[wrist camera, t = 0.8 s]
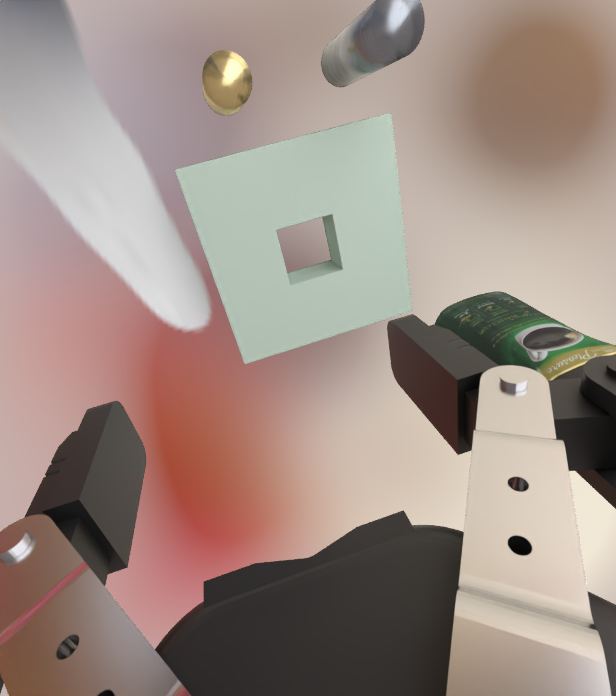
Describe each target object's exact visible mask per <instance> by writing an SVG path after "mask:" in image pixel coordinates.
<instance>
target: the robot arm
mask: <svg viewBox="0 0 616 696" xmlns="http://www.w3.org/2000/svg"><path fill="white" fill-rule="evenodd" d="M387 330H388V339H389V349H390V357H391V367H392V371H393V374H394V377H395V379H396V381H397V382H398V384H399V385H400V387H401V388H402V389H403V390H404V391H405V392H406V394H407V395H408V396H409V397H410V398H411V400H412V401H413V402H414V403H415V404H416V405H417V407H418V408H419V409H420V410H421V411H422V413H423V414H424V415H425V416H426V417H427V419H428V420H429V421H430V422H431V423H432V424H433V426H434V427H435V428H436V429H437V430H438V431H439V433H440V434H441V435H442V436H443V437H444V439H445V440H446V441H447V442H448V443H449V445H450V446H451V447H452V448H453V449H454V451H455V452H456V453H457V454H458V455H459V454H462V453H465V452H468V451H471V450H472V454H471V464H470V474H469V485H468V495H467V505H466V515H465V525H464V532H462V531H459V530H455V529H451V528H447V527H441V526H434V525H413V526H412V525H411V523H410V521H409V519H408V517H407V516H406V514H405V512H404V511H401V512H398V513H396V514H392V515H390V516H387V517H384V518H381V519H378V520H375V521H373V522H370V523H367V524H364V525H361V526H359V527H356V528H355V529H353V530H352V531H350V532H349V533H347V534H346V535H344V536H343V537H341V538H340V539H338V540H337V541H335V542H334V543H332V544H331V545H329V546H327V547H326V548H324V549H323V550H322V551H320V552H318V553H317V554H315V555H314V556H312V557H309V558H304V559H294V560H285V561H274V562H264V563H255V564H252V565H250V566H247V567H244V568H241V569H238V570H236V571H232V572H230V573H227V574H224V575H221V576H218V577H216V578H213V579H210V580H207V581H204V601H203V602H202V603H200V604H199V605H198V606H196V607H195V608H194V609H192V610H191V611H190V612H189V613H187V614H186V615H185V616H184V617H183V618H182V619H181V620H180V621H179V622H178V623H177V624H176V625H175V626H174V627H173V628H172V629H171V630H170V631H169V632H168V634H167V635H166V636H165V637H164V638H163V639H162V641H161V642H160V643H159V645H158V646H157V648H156V649H154V648H153V647H152V646H151V644H150V643H149V642H148V641H147V639H146V638H145V637H144V636H143V634H142V633H141V632H140V630H139V629H138V628H137V627H136V625H135V624H134V623H133V622H132V620H131V619H130V618H129V617H128V615H127V614H126V613H125V612H124V610H123V609H122V608H121V607H120V605H119V604H118V603H117V601H116V600H115V599H114V598H113V596H112V595H111V594H110V593H109V592H108V590H107V589H106V588H105V584H106V579H107V575H108V574H110V573H113V572H115V571H119V570H121V569H124V568H127V567H128V561H129V555H130V550H131V545H132V539H133V533H134V528H135V522H136V517H137V510H138V505H139V500H140V494H141V489H142V483H143V477H144V472H145V466H146V453H145V449H144V446H143V443H142V441H141V439H140V437H139V435H138V433H137V432H136V430H135V428H134V426H133V424H132V422H131V420H130V419H129V417H128V415H127V413H126V411H125V409H124V407H123V406H122V405H121V403H120V402H118V401H114V402H110V403H107V404H103V405H100V406H97V407H93V408H90V409H88V410H87V411H86V413H85V415H84V418H83V420H82V422H81V424H80V427H79V429H78V431H75V432H72V433H71V434H70V435H69V436H68V437H67V438H66V440H65V441H64V442H63V443H62V444H61V445H60V446H59V447H58V449H57V451H56V453H55V455H54V457H53V459H52V461H51V463H52V464H51V465H50V466H49V468H48V470H47V472H46V474H45V475H46V477H44V478H43V480H42V483H41V484H40V486H39V488H38V490H37V493H36V494H35V497H34V499H33V501H32V503H31V505H30V507H29V509H28V511H27V513H26V515H25V517H24V518H23V519H20V520H19V521H16V522H14V523H13V524H11V525H9V526H8V527H6V528H5V529H3V530H2V531H1V532H0V693H1V690H2V687H3V684H5V687H6V689H7V692H8V694H9V696H616V605H615V604H613V603H611V602H609V601H607V600H604V599H603V598H600V597H598V596H596V595H594V594H592V593H590V592H588V591H587V584H586V578H585V572H584V566H583V559H582V553H581V547H580V540H579V534H578V528H577V521H576V515H575V508H574V501H573V495H572V489H571V483H570V476H569V471H576V472H577V473H578V474H579V475H580V476H581V477H582V478H584V479H585V480H586V481H587V482H588V483H589V484H590V485H591V486H592V487H593V488H594V489H595V490H596V491H597V492H599V494H601V495H602V496H603V497H604V498H605V499H606V500H607V501H608V502H609V503H610V504H611V505H612V506H613V507H614V508H616V355H606V356H599V357H595V358H592V359H590V360H588V361H587V362H586V363H585V365H584V368H583V374H582V378H572V379H561V380H549V381H547V379H546V378H545V377H544V376H543V375H542V374H540V373H539V372H537V371H535V370H532V369H530V368H526V367H522V366H514V365H505V366H499V365H498V364H496V363H495V362H494V361H492V360H491V359H490V358H488V357H487V356H485V355H484V354H483V353H481V352H480V351H478V350H477V349H476V348H474V347H473V346H470V344H469V343H467V342H466V341H465V340H463V339H461V338H460V337H459V336H458V335H456V334H455V333H454V332H452V331H451V330H449V329H446V328H443V327H440V326H436V325H431V326H428V325H427V324H425V323H424V322H423V321H421V320H420V319H419V318H418V317H416V316H415V315H413V314H412V315H408V316H405V317H402V318H398V319H395V320H391V321H389V322H388V326H387Z"/></svg>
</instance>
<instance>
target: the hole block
mask: <svg viewBox="0 0 616 696" xmlns="http://www.w3.org/2000/svg"><path fill="white" fill-rule="evenodd" d="M175 172H176V175H177V177H178V181H179V183H180V186H181V189H182V191H183V194H184V197H185V200H186V203H187V206H188V208H189V211H190V214H191V217H192V219H193V222H194V225H195V228H196V230H197V233H198V236H199V239H200V242H201V244H202V247H203V250H204V252H205V255H206V258H207V261H208V263H209V267H210V269H211V272H212V275H213V277H214V280H215V283H216V286H217V289H218V292H219V294H220V297H221V300H222V302H223V305H224V308H225V311H226V314H227V316H228V319H229V322H230V325H231V328H232V330H233V333H234V336H235V339H236V341H237V344H238V347H239V350H240V352H241V355H242V358H243V361H244V364H247V363H251V362H254V361H257V360H260V359H263V358H266V357H269V356H272V355H276V354H279V353H282V352H285V351H288V350H291V349H294V348H297V347H300V346H304V345H307V344H310V343H313V342H316V341H319V340H322V339H325V338H329V337H332V336H335V335H338V334H341V333H344V332H347V331H350V330H354V329H357V328H360V327H363V326H366V325H369V324H373V323H376V322H379V321H382V320H385V319H388V318H391V317H394V316H397V315H401V314H404V313H407V312H410V311H412V302H411V293H410V284H409V274H408V265H407V256H406V246H405V236H404V228H403V218H402V209H401V199H400V190H399V180H398V172H397V162H396V152H395V143H394V133H393V124H392V115H391V113H389V114H385V115H381V116H376V117H372V118H368V119H364V120H360V121H357V122H353V123H349V124H345V125H341V126H338V127H334V128H330V129H326V130H322V131H319V132H315V133H311V134H308V135H303V136H300V137H296V138H292V139H288V140H285V141H281V142H277V143H273V144H269V145H266V146H262V147H258V148H254V149H250V150H246V151H243V152H239V153H235V154H231V155H227V156H224V157H220V158H216V159H212V160H208V161H205V162H201V163H197V164H193V165H189V166H186V167H182V168H178V169H176V170H175ZM320 217H323V222H324V226H325V231H326V236H327V241H328V246H329V251H330V256H331V260H330V261H327V262H323V263H320V264H317V265H313V266H310V267H306V268H303V269H299V270H296V271H293V272H290V273H287V270H286V266H285V262H284V258H283V255H282V251H281V247H280V243H279V239H278V236H277V232H276V230H278V229H281V228H285V227H288V226H292V225H295V224H299V223H302V222H306V221H309V220H313V219H316V218H320Z"/></svg>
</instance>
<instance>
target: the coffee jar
mask: <svg viewBox="0 0 616 696" xmlns="http://www.w3.org/2000/svg"><path fill="white" fill-rule="evenodd" d="M435 325H436V326H440V327H443V328H446V329H449V330H451V331H452V332H454V333H455V334H456V335H458V336H459V337H460V338H461V339H463V340H465V341H466V342H467V343H469V344H470V346H473V347H474V348H476V349H477V350H478V351H480V352H481V353H483V354H484V355H485V356H487V357H488V358H490V359H491V360H492V361H494V362H495V363H496V364H498V365H499V366H505V365H514V366H522V367H526V368H530V369H532V370H535V371H537V372H539V373H540V374H542V375H543V376H544V377H545V378H546V379H547V381H549V380H561V379H572V378H582V374H583V368H584V365H585V363H586V362H587V361H588V360H590V359H592V358H595V357H599V356H606V355H616V345H612V344H609V343H605V342H602V341H599V340H597V339H594V338H591V337H589V336H586V335H584V334H582V333H580V332H578V331H576V330H574V329H572V328H570V327H568V326H566V325H564V324H562V323H560V322H558V321H557V320H555V319H553V318H550V317H549V316H547V315H545V314H543V313H541V312H540V311H538V310H536V309H534V308H533V307H531V306H529V305H528V304H526V303H524V302H522V301H520V300H518V299H517V298H515V297H513V296H511V295H509V294H507V293H504V292H491V293H485V294H481V295H477V296H474V297H471V298H468V299H465V300H462V301H460V302H457V303H455V304H453V305H451V306H449V307H447V308H446V309H444V310H443V311H442V312H441V313H440V315H439V317H438V318H437V320H436V322H435Z"/></svg>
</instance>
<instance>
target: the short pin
mask: <svg viewBox="0 0 616 696" xmlns="http://www.w3.org/2000/svg"><path fill="white" fill-rule="evenodd" d="M251 90H252V76H251V72H250V69H249V67H248V65H247V64H246V62H245V61H244V60H243V59H242V58H241V57H240V56H239V55H237V54H236V53H234V52H232V51H228V50H221V51H218V52H215V53H213V54H212V55H211V56H210V57H209V58H208V59H207V61H206V63H205V65H204V68H203V94H204V97H205V100H206V102H207V104H208V106H209V107H210V108H211V109H212V110H213V111H214V112H216V113H217V114H220V115H223V116H230V115H233V114H235V113H237V112H238V111H239V110H240V109H241V107H242V106H243V104H244V103H245V102H246V101H247V99H248V98H249V96H250V93H251Z"/></svg>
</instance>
